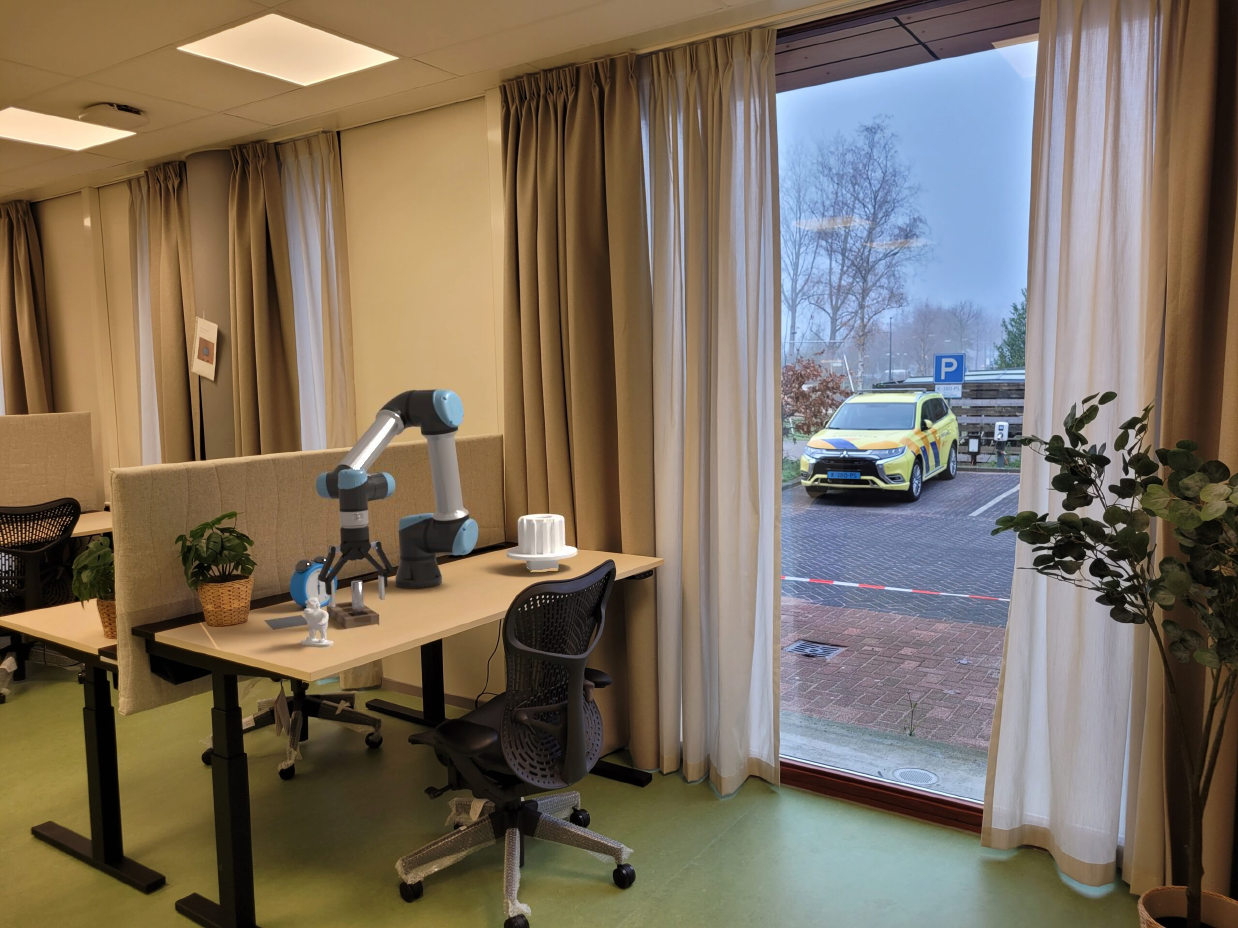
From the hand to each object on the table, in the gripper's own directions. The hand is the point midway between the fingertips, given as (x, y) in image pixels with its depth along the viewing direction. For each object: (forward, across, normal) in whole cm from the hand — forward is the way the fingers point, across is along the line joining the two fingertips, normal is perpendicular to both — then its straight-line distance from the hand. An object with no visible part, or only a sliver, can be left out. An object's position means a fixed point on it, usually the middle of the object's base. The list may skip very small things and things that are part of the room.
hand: (357, 602), depth 249 cm
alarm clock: (+6, -5, +28) cm, 29 cm away
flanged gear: (+6, +76, +37) cm, 85 cm away
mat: (+6, -16, +13) cm, 21 cm away
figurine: (+6, -15, -13) cm, 21 cm away
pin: (+6, 0, 0) cm, 6 cm away
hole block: (+6, 0, +6) cm, 9 cm away
